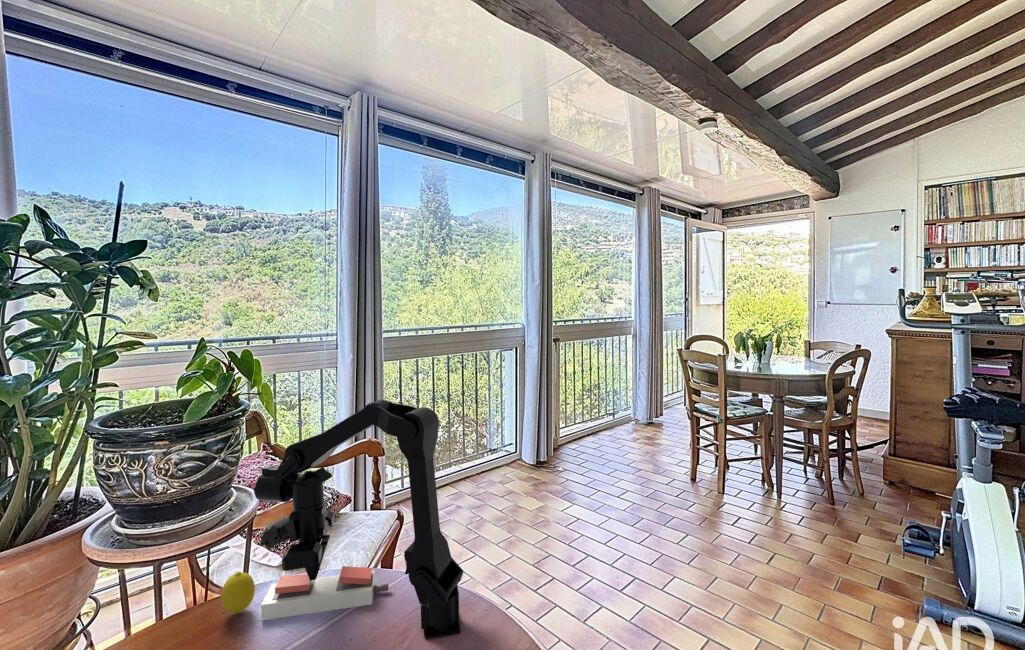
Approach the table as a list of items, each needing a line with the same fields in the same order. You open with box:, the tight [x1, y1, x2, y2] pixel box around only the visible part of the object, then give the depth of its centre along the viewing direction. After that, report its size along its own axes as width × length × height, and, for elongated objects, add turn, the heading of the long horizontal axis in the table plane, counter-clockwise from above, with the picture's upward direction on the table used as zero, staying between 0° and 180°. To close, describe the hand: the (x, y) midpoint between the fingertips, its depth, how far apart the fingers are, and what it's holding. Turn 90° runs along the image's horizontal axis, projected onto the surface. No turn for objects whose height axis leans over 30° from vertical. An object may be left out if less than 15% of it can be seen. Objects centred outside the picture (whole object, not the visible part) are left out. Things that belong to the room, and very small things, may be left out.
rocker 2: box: [339, 565, 373, 585], centre depth 93 cm, size 6×4×1 cm, turn 103°
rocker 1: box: [275, 573, 312, 594], centre depth 90 cm, size 6×4×1 cm, turn 103°
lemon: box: [220, 571, 256, 615], centre depth 88 cm, size 6×6×8 cm
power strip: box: [260, 570, 389, 622], centre depth 92 cm, size 23×7×3 cm, turn 103°
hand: (313, 579), depth 91 cm, fingers closed, pressing on rocker 1
